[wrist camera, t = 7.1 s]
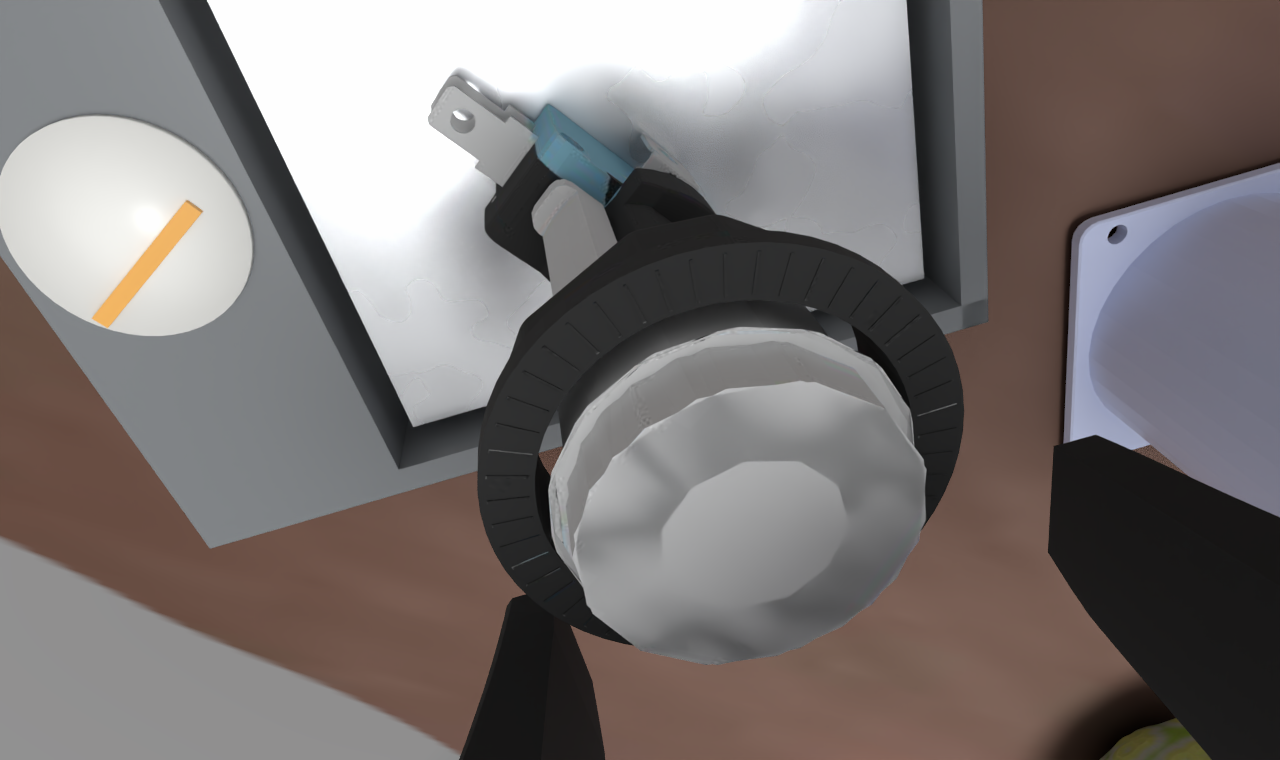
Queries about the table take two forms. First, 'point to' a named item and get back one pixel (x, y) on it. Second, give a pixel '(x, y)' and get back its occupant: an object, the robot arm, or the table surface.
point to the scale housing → (297, 257)
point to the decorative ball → (1158, 744)
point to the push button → (696, 404)
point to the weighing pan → (602, 106)
